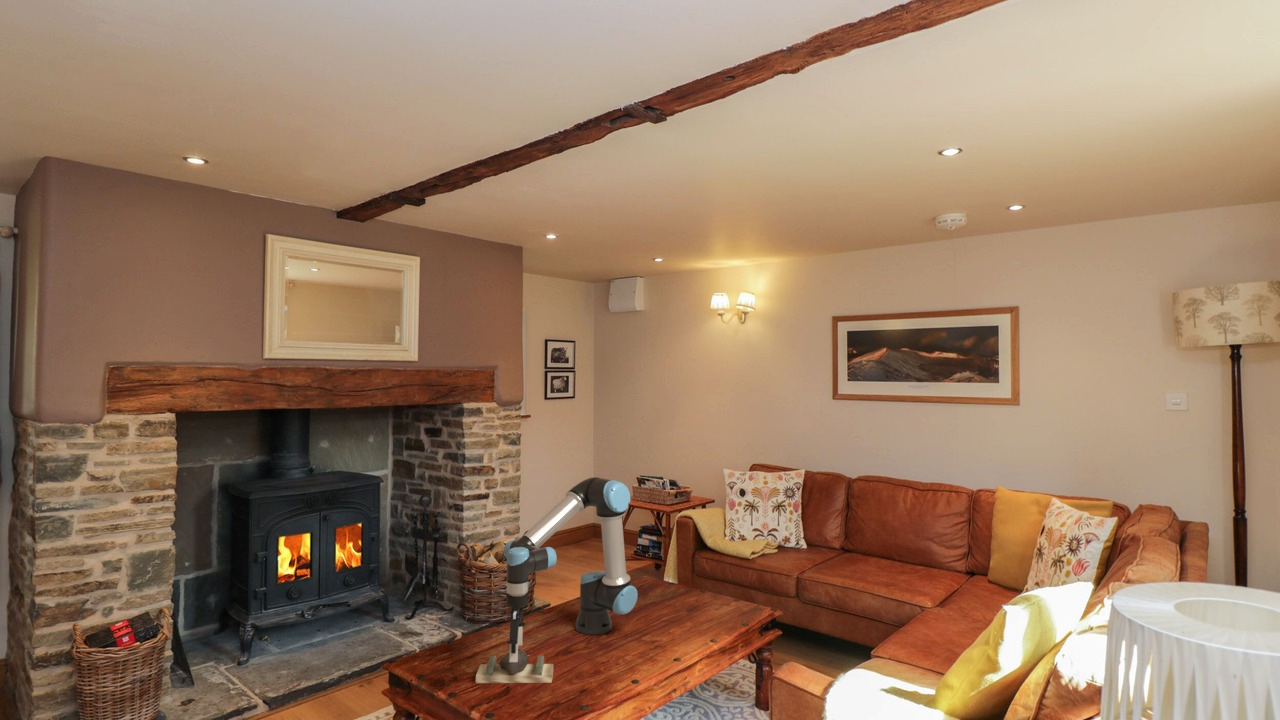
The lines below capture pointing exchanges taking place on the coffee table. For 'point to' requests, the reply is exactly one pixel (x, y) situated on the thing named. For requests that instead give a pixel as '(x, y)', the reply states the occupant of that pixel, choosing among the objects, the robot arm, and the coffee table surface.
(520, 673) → the cream and green rack
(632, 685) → the coffee table surface
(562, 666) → the coffee table surface
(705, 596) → the coffee table surface
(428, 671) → the coffee table surface
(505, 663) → the stone
